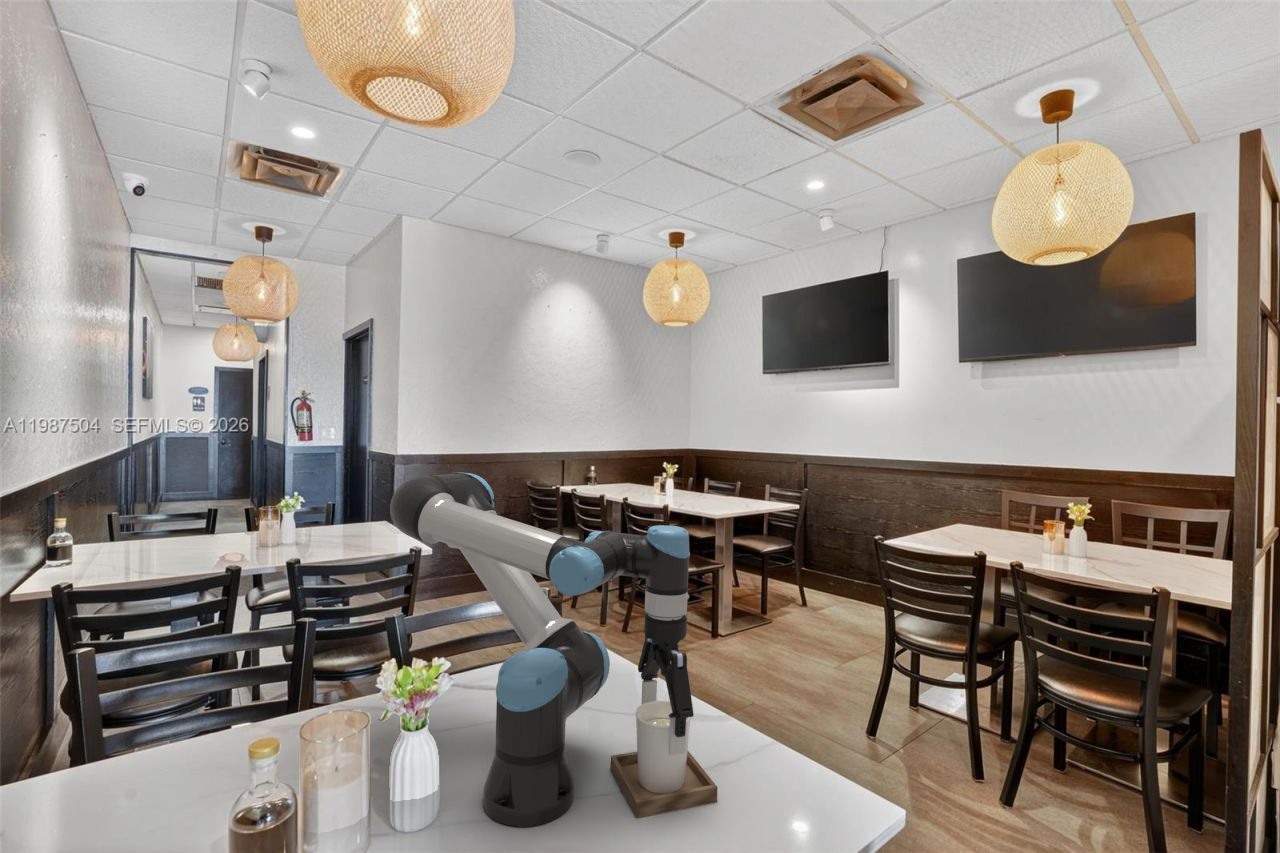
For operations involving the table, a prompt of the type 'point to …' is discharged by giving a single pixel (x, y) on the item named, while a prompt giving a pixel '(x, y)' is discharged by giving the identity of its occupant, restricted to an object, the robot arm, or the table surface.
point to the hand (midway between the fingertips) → (661, 733)
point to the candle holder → (658, 749)
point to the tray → (649, 803)
